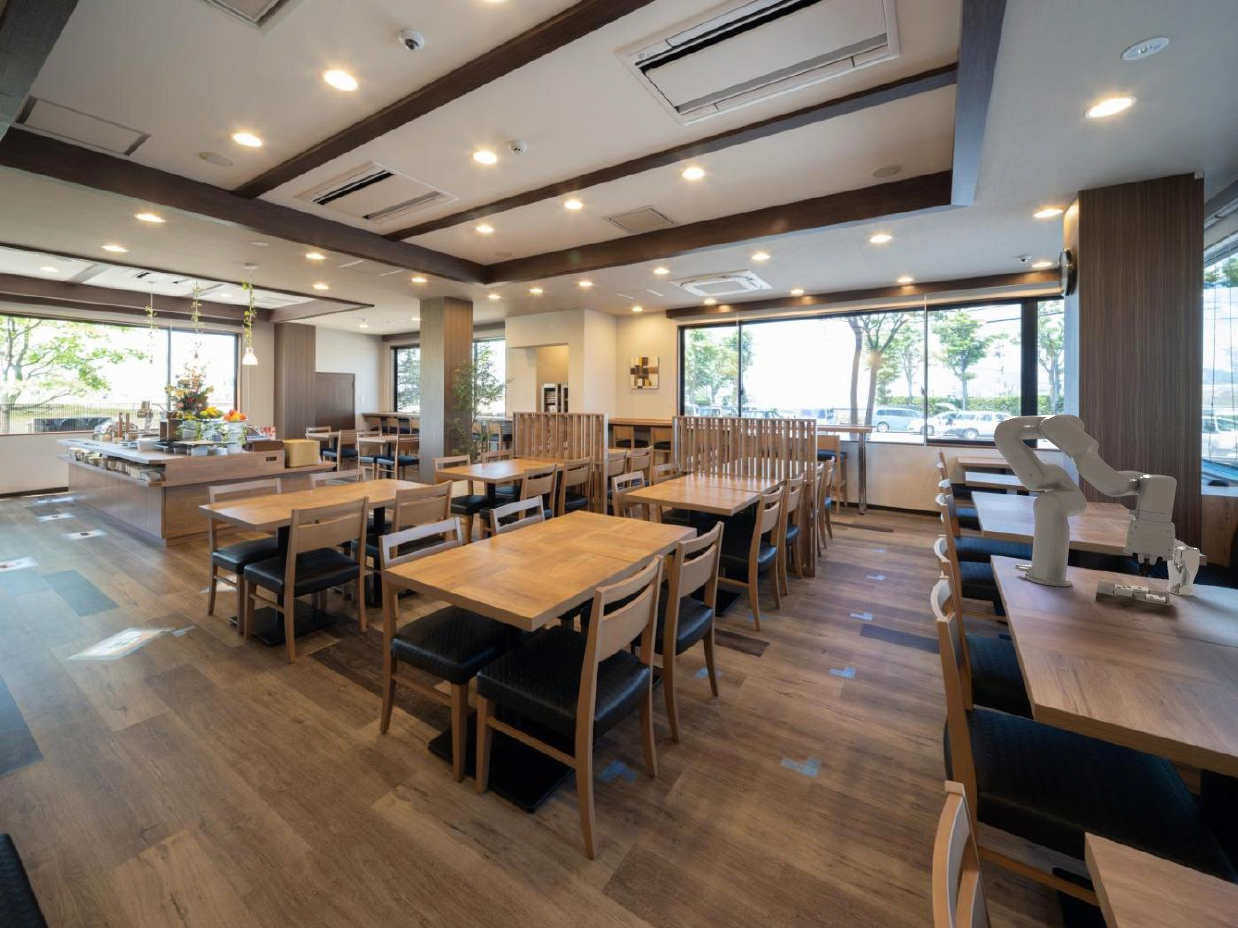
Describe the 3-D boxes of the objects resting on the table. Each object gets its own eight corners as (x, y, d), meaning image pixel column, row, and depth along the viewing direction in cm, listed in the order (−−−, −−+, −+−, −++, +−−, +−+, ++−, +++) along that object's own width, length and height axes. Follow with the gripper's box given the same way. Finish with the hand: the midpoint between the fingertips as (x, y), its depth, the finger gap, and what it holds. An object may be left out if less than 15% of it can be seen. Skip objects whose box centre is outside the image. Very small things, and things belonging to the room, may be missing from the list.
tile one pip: (1129, 597, 165) (1130, 587, 165) (1129, 594, 168) (1130, 584, 167) (1147, 600, 162) (1148, 590, 162) (1147, 597, 165) (1148, 587, 165)
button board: (1095, 601, 164) (1096, 592, 164) (1098, 589, 174) (1098, 581, 173) (1169, 615, 153) (1170, 605, 152) (1167, 602, 163) (1168, 592, 162)
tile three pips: (1113, 596, 162) (1114, 586, 162) (1114, 593, 165) (1115, 583, 165) (1131, 600, 159) (1132, 590, 159) (1131, 596, 162) (1133, 586, 162)
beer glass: (1180, 589, 173) (1186, 545, 172) (1202, 597, 167) (1207, 551, 165) (1157, 588, 174) (1162, 544, 172) (1177, 596, 167) (1183, 550, 166)
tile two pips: (1145, 606, 157) (1146, 596, 157) (1145, 602, 160) (1146, 593, 160) (1164, 610, 155) (1165, 599, 154) (1164, 606, 158) (1165, 596, 157)
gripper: (1118, 514, 159) (1110, 572, 161) (1191, 523, 148) (1181, 585, 151) (1118, 510, 164) (1110, 566, 166) (1188, 518, 154) (1179, 578, 156)
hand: (1144, 575), depth 159 cm, fingers closed
